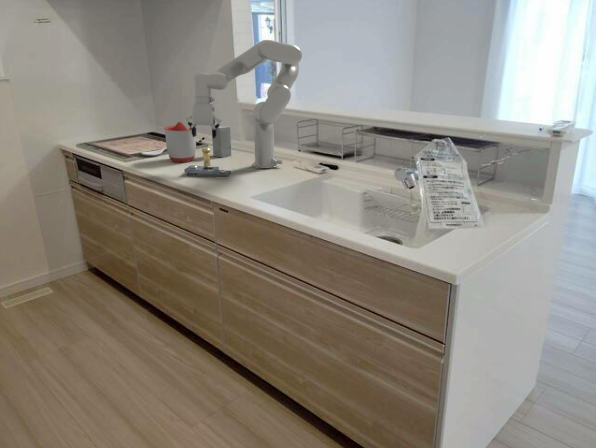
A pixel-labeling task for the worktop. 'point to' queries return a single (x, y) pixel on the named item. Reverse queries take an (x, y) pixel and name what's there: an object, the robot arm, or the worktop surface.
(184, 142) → the citrus juicer
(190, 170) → the upper link
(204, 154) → the brass pin
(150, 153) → the spoon
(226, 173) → the lower link
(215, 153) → the skincare box
